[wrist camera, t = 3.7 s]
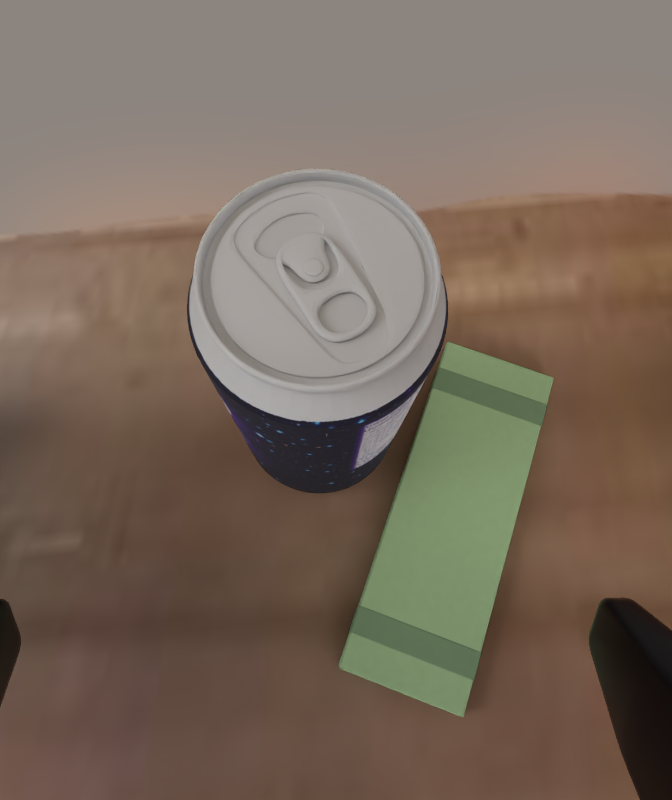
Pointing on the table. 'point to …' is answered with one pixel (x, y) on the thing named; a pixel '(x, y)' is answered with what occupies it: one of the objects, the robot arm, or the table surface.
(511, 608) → the table surface
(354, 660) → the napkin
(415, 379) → the beverage can
